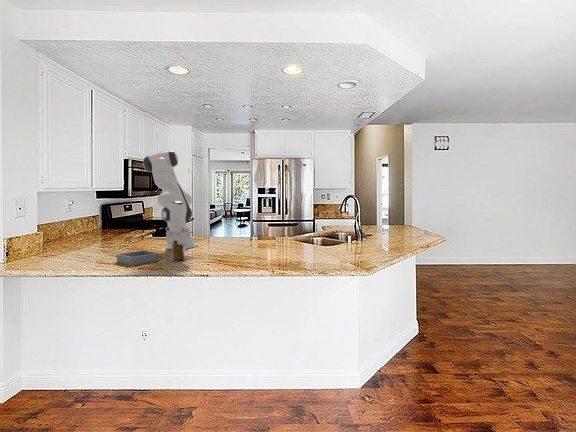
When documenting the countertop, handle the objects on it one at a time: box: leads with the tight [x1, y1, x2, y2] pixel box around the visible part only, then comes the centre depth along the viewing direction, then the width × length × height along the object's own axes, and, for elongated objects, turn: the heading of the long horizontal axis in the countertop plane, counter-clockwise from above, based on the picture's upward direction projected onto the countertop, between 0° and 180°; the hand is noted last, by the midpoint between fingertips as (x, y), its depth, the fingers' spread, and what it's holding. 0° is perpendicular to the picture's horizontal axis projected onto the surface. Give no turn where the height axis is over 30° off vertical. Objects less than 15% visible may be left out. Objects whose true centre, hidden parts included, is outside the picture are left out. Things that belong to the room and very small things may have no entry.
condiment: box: [172, 241, 189, 262], centre depth 257 cm, size 7×8×12 cm
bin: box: [116, 249, 160, 267], centre depth 254 cm, size 18×17×5 cm
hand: (179, 251), depth 257 cm, fingers open, 8 cm apart
